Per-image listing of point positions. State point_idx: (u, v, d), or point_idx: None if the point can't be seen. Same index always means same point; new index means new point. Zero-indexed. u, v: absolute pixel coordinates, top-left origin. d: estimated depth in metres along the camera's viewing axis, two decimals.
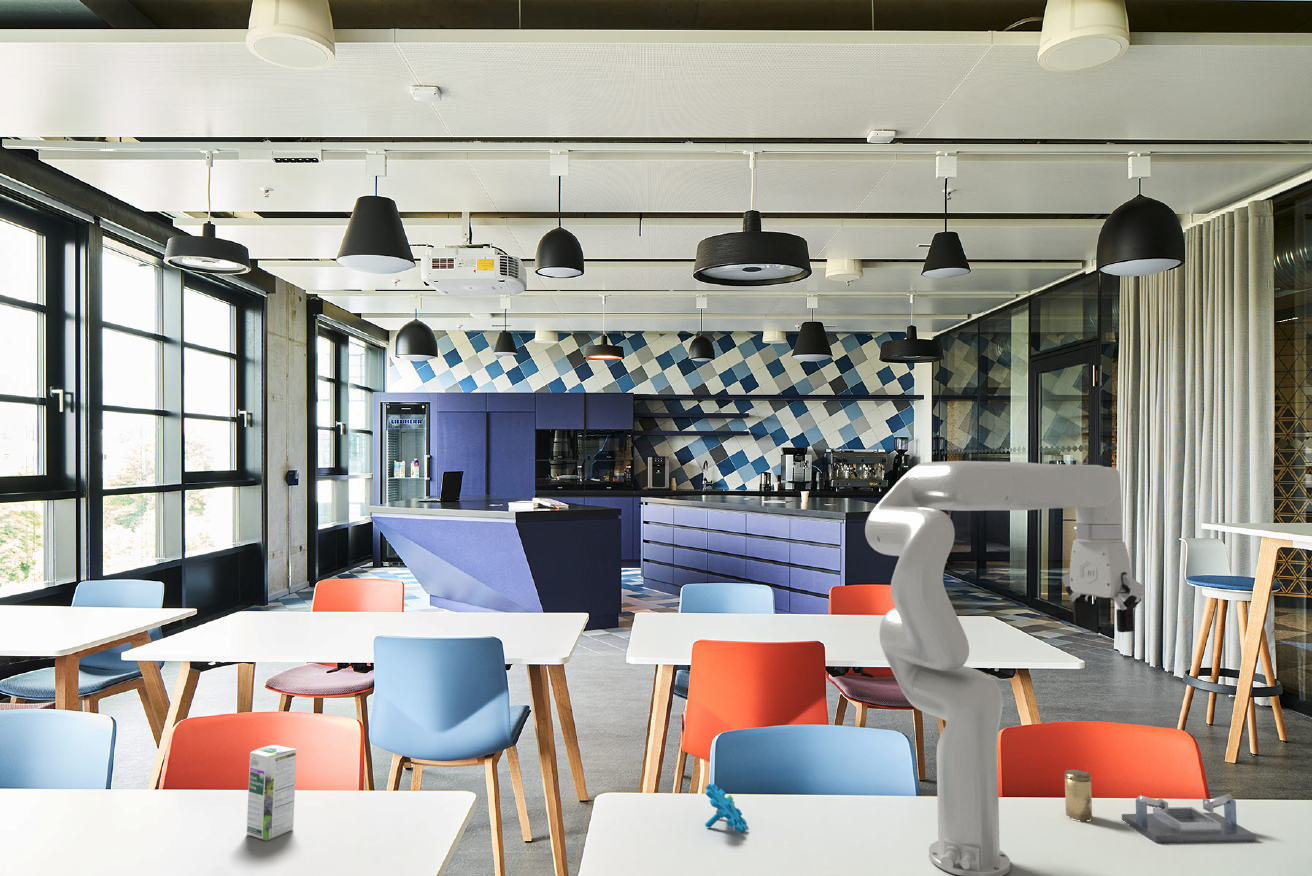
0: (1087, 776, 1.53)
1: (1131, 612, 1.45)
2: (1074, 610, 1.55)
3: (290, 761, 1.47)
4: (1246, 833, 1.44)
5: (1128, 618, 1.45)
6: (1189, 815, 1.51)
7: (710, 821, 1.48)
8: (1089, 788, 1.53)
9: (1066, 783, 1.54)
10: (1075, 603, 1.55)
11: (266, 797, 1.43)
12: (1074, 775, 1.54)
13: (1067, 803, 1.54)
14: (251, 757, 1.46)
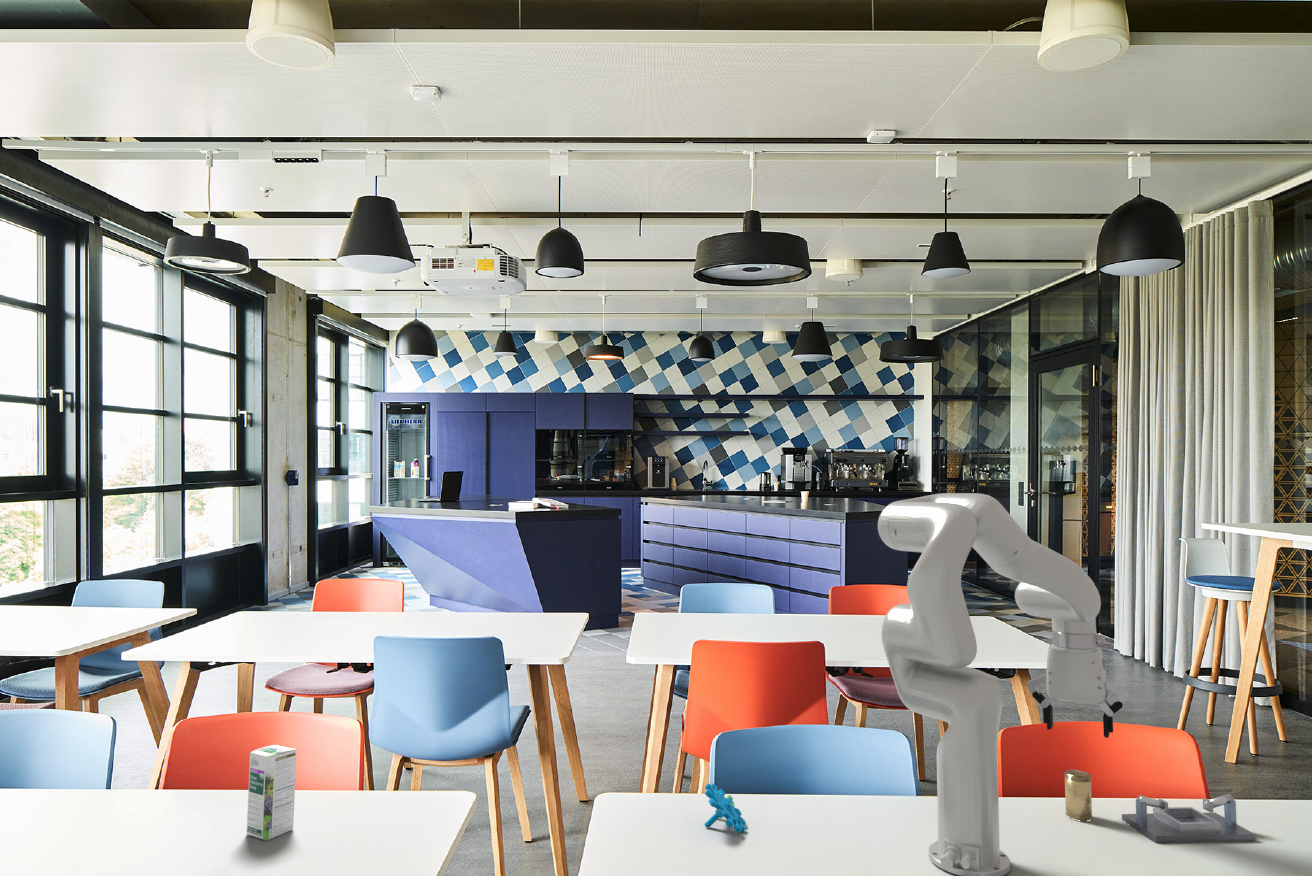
0: (1087, 776, 1.53)
1: (1043, 709, 1.58)
2: None
3: (290, 761, 1.47)
4: (1246, 833, 1.44)
5: None
6: (1189, 815, 1.51)
7: (709, 821, 1.49)
8: (1089, 788, 1.53)
9: (1066, 783, 1.54)
10: None
11: (267, 797, 1.43)
12: (1074, 775, 1.54)
13: (1067, 803, 1.54)
14: (251, 757, 1.46)
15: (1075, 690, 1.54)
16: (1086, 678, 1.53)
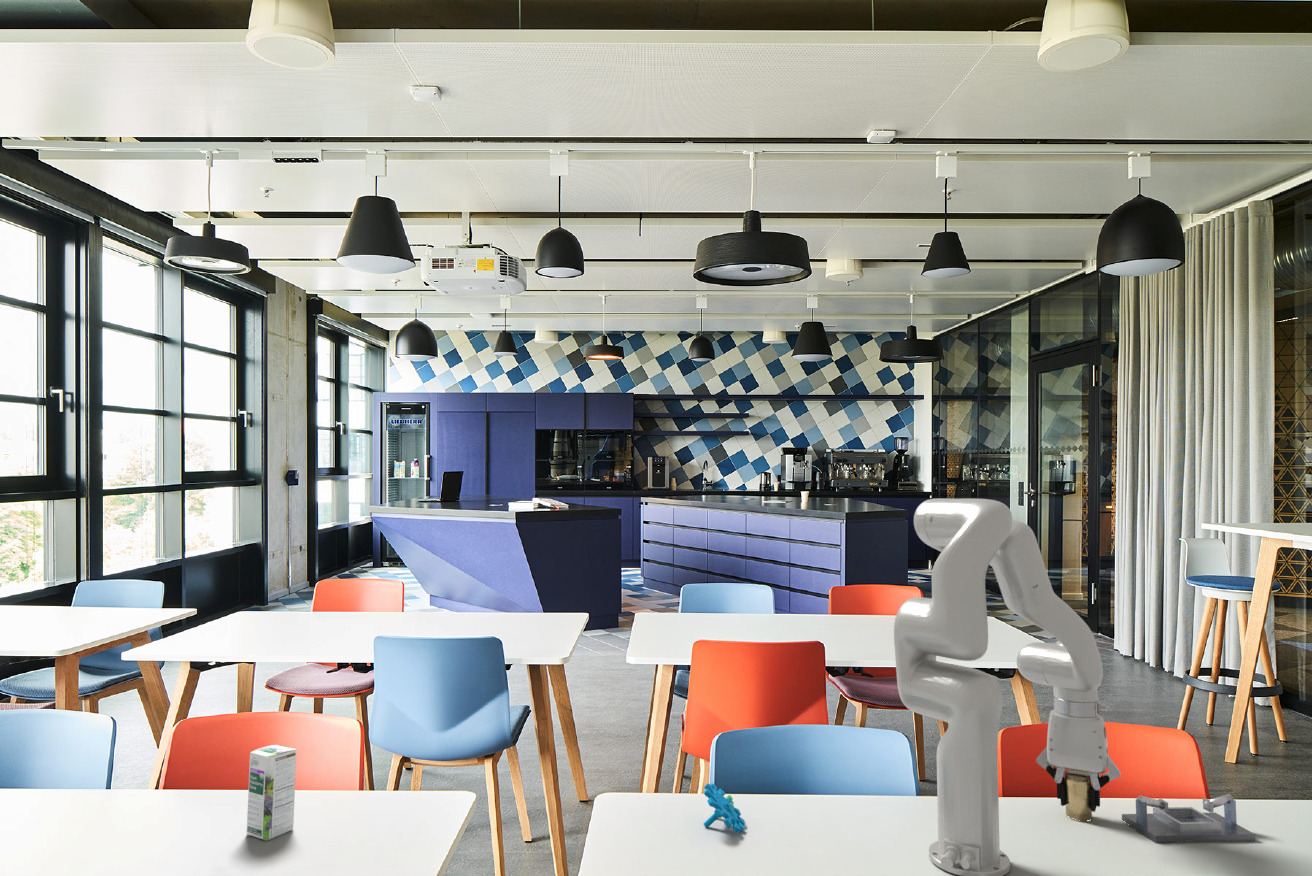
0: (1087, 775, 1.53)
1: (1057, 784, 1.56)
2: None
3: (290, 761, 1.47)
4: (1246, 833, 1.44)
5: None
6: (1189, 815, 1.51)
7: (708, 821, 1.49)
8: (1089, 788, 1.53)
9: (1066, 783, 1.54)
10: None
11: (266, 797, 1.43)
12: (1074, 775, 1.54)
13: (1067, 803, 1.54)
14: (251, 757, 1.46)
15: (1076, 758, 1.53)
16: (1087, 747, 1.52)
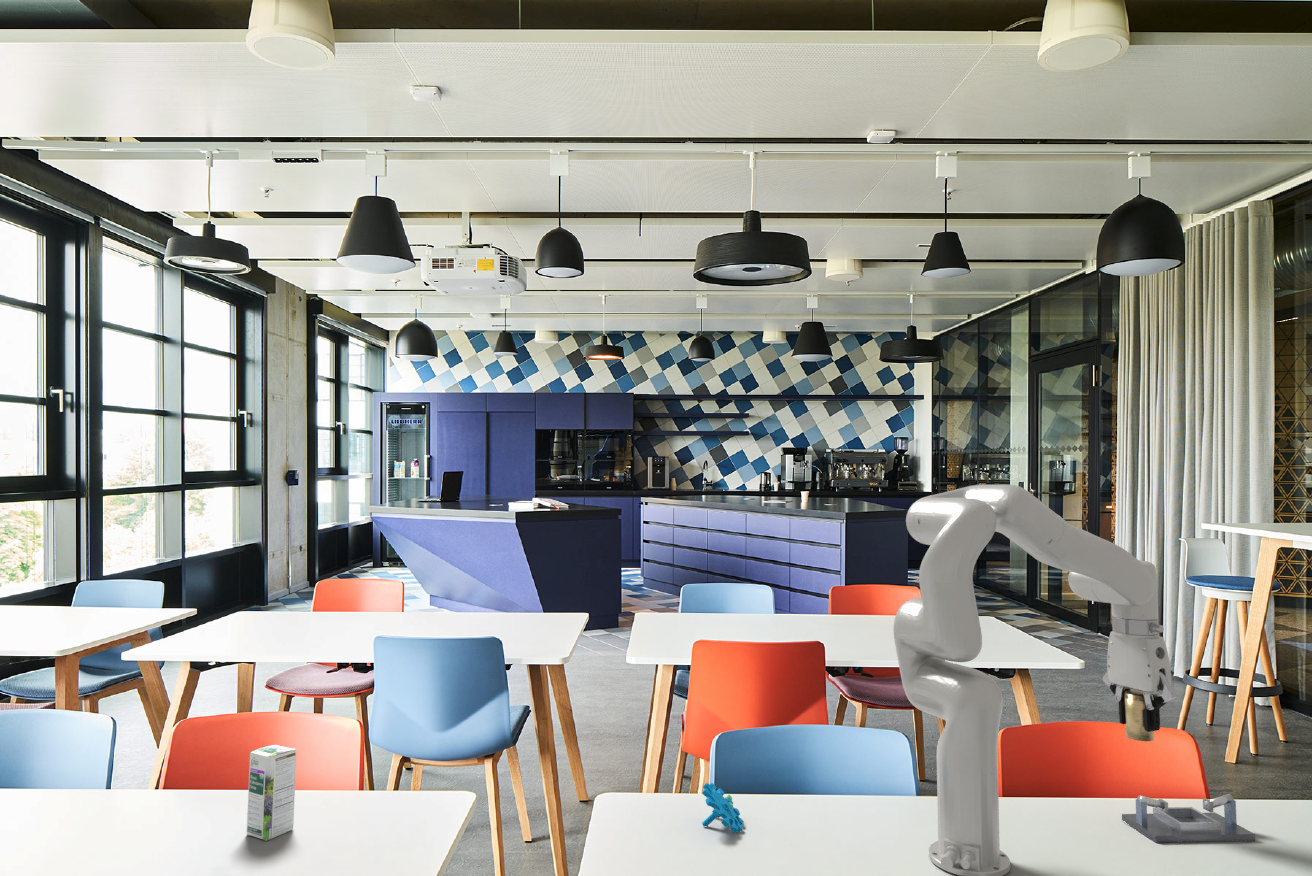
0: None
1: None
2: None
3: (290, 761, 1.47)
4: (1246, 833, 1.44)
5: None
6: (1189, 815, 1.51)
7: (707, 820, 1.49)
8: (1145, 708, 1.50)
9: None
10: None
11: (266, 797, 1.43)
12: (1130, 694, 1.52)
13: None
14: (251, 757, 1.46)
15: (1128, 676, 1.51)
16: (1137, 665, 1.50)
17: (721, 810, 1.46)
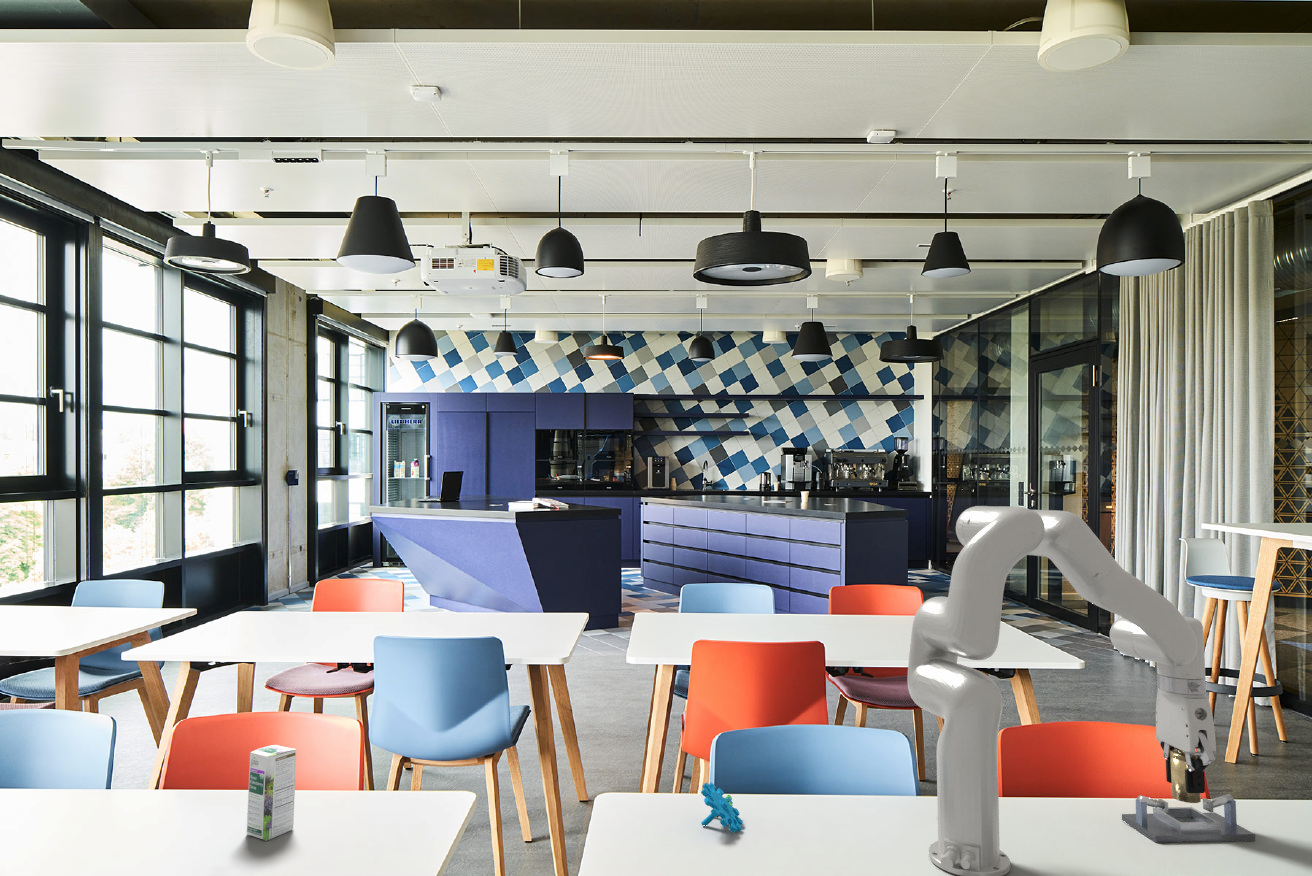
0: None
1: None
2: None
3: (290, 761, 1.47)
4: (1246, 833, 1.44)
5: None
6: (1189, 815, 1.51)
7: (706, 820, 1.49)
8: None
9: None
10: None
11: (266, 797, 1.43)
12: (1175, 752, 1.49)
13: None
14: (251, 757, 1.46)
15: (1171, 734, 1.49)
16: (1177, 724, 1.47)
17: (720, 810, 1.46)
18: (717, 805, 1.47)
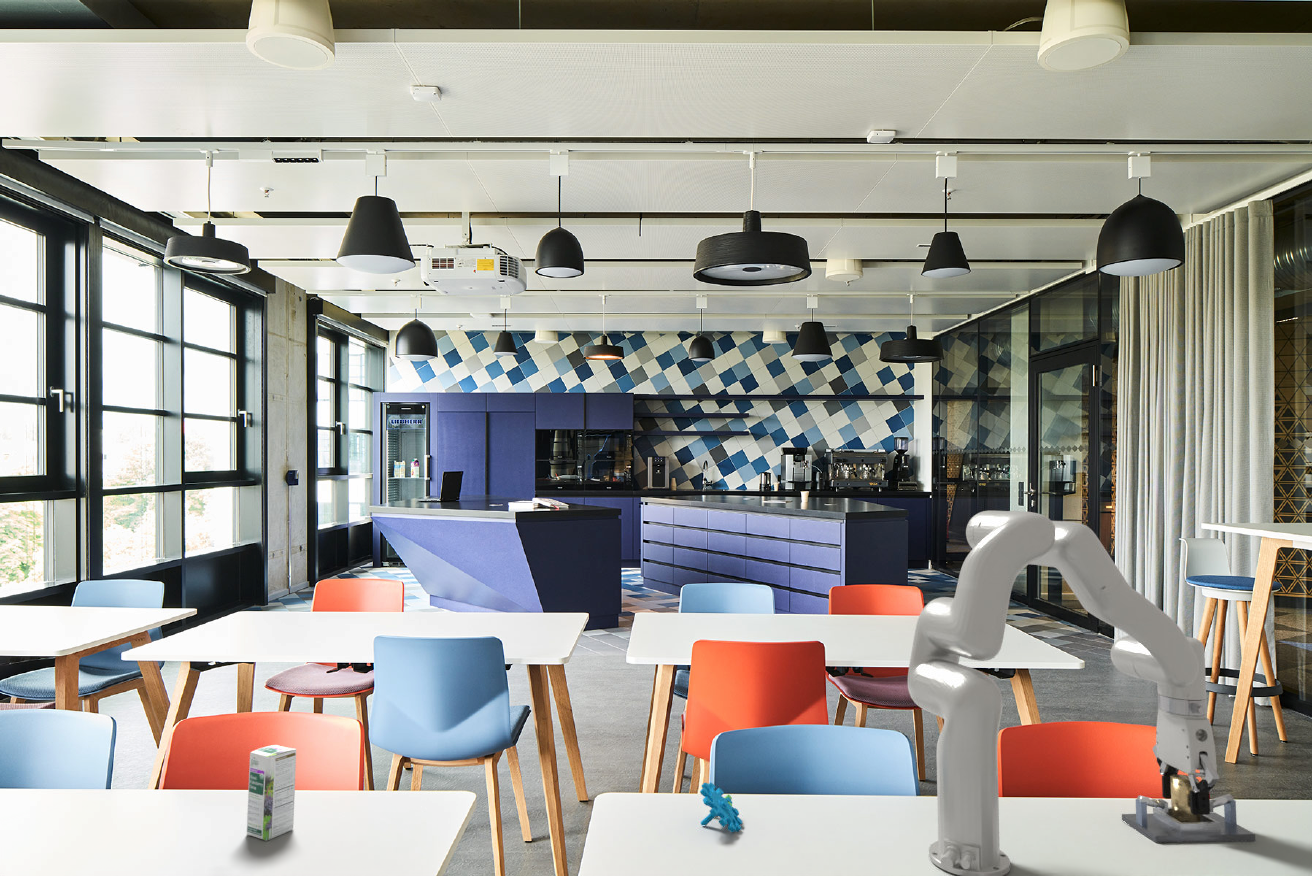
0: (1189, 781, 1.47)
1: None
2: None
3: (290, 761, 1.47)
4: (1246, 833, 1.44)
5: None
6: None
7: (705, 819, 1.49)
8: (1188, 794, 1.46)
9: None
10: None
11: (266, 797, 1.43)
12: (1175, 778, 1.49)
13: None
14: (251, 757, 1.46)
15: (1171, 755, 1.49)
16: (1178, 745, 1.47)
17: (719, 810, 1.46)
18: (716, 805, 1.47)
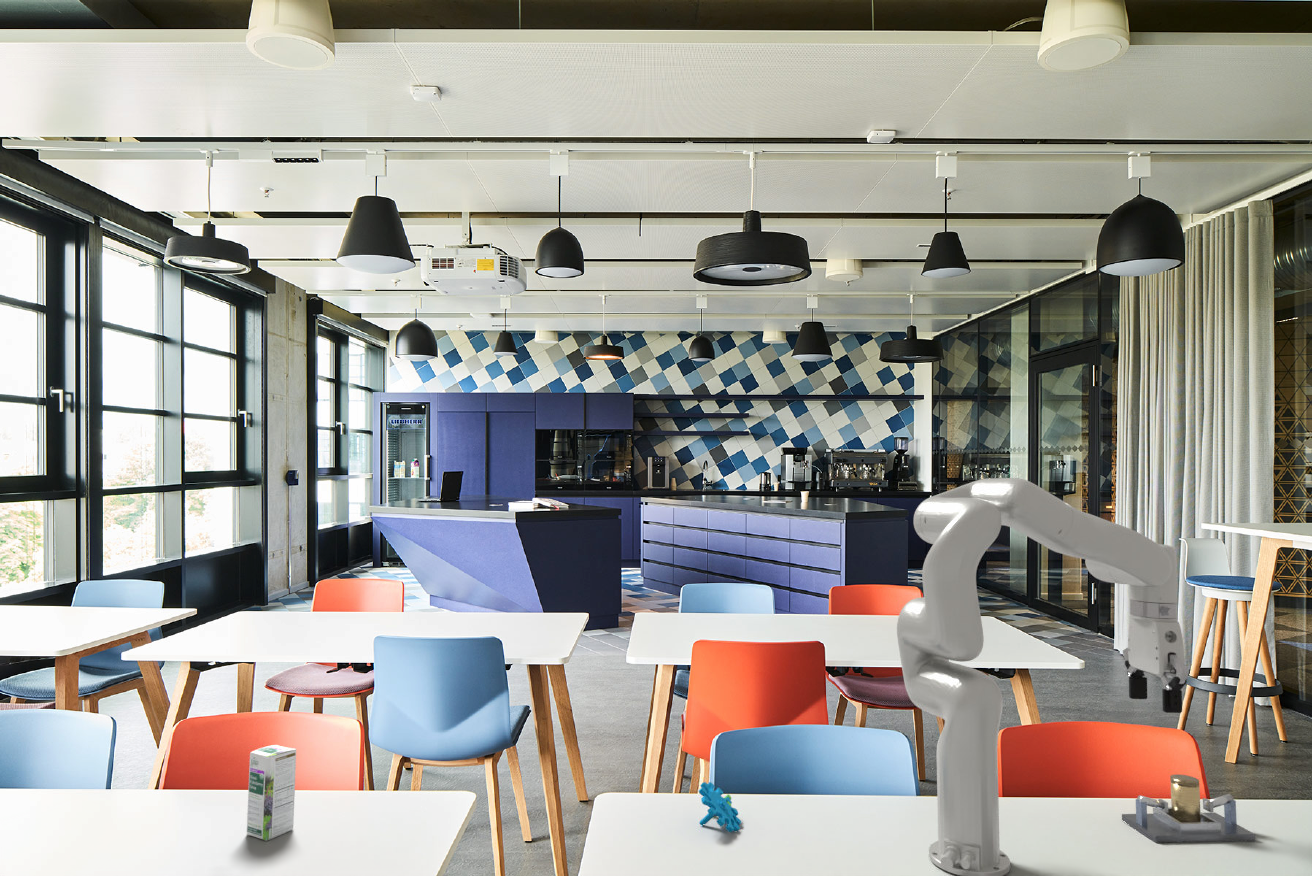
0: (1189, 782, 1.47)
1: None
2: None
3: (290, 761, 1.47)
4: (1246, 833, 1.44)
5: None
6: None
7: (704, 819, 1.49)
8: (1188, 794, 1.46)
9: None
10: None
11: (266, 797, 1.43)
12: (1175, 778, 1.49)
13: None
14: (251, 757, 1.46)
15: (1141, 659, 1.51)
16: (1148, 647, 1.49)
17: (717, 809, 1.47)
18: (714, 804, 1.47)
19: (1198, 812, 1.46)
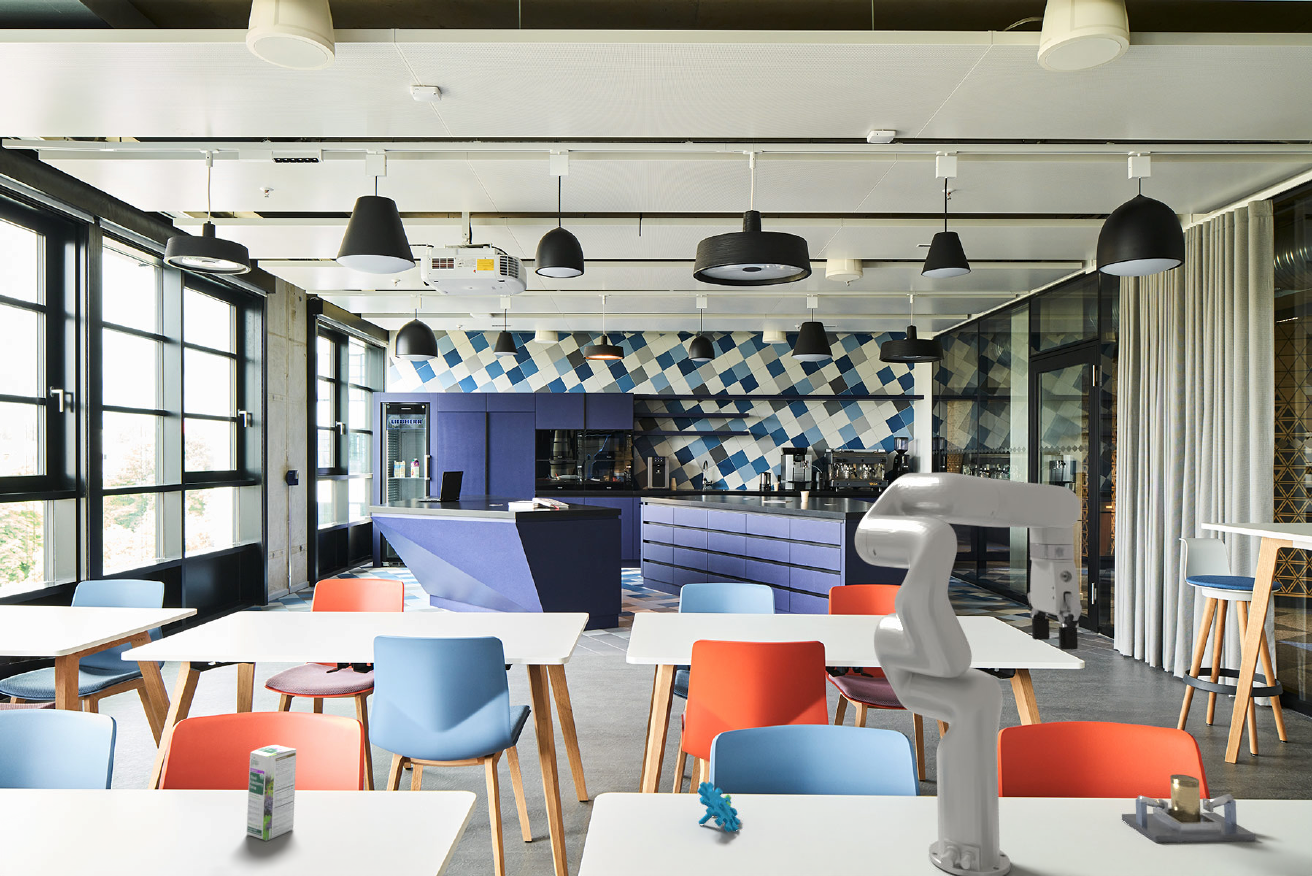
0: (1189, 782, 1.47)
1: None
2: None
3: (290, 761, 1.47)
4: (1246, 833, 1.44)
5: None
6: None
7: (703, 819, 1.50)
8: (1188, 794, 1.46)
9: None
10: None
11: (267, 797, 1.43)
12: (1175, 778, 1.49)
13: None
14: (251, 757, 1.46)
15: (1041, 599, 1.56)
16: (1046, 588, 1.54)
17: (715, 809, 1.47)
18: (713, 804, 1.47)
19: (1198, 812, 1.46)
